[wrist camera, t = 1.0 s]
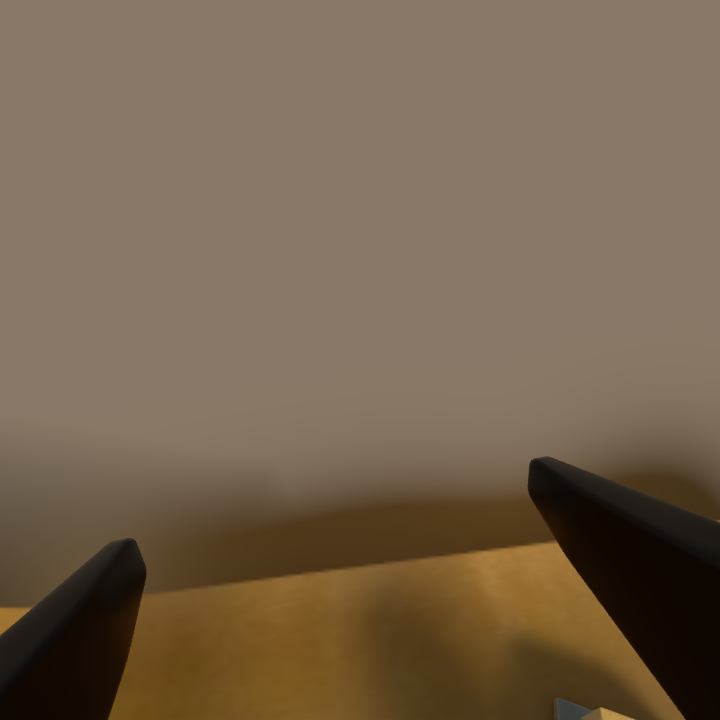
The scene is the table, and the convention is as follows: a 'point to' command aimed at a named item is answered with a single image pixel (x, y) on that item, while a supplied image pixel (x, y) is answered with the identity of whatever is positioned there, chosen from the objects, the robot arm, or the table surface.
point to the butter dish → (583, 712)
